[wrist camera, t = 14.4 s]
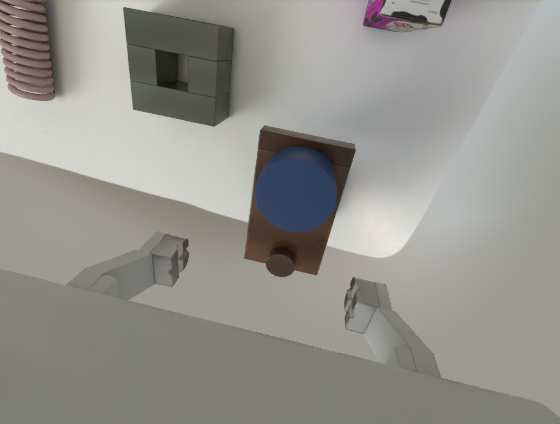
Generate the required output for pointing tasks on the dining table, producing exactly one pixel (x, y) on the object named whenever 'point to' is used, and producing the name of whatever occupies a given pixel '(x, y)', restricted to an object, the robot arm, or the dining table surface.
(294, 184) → the peg
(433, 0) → the candy bar box
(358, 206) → the dining table surface
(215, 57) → the holder
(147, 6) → the dining table surface
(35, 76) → the coil
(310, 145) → the stand
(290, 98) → the dining table surface
